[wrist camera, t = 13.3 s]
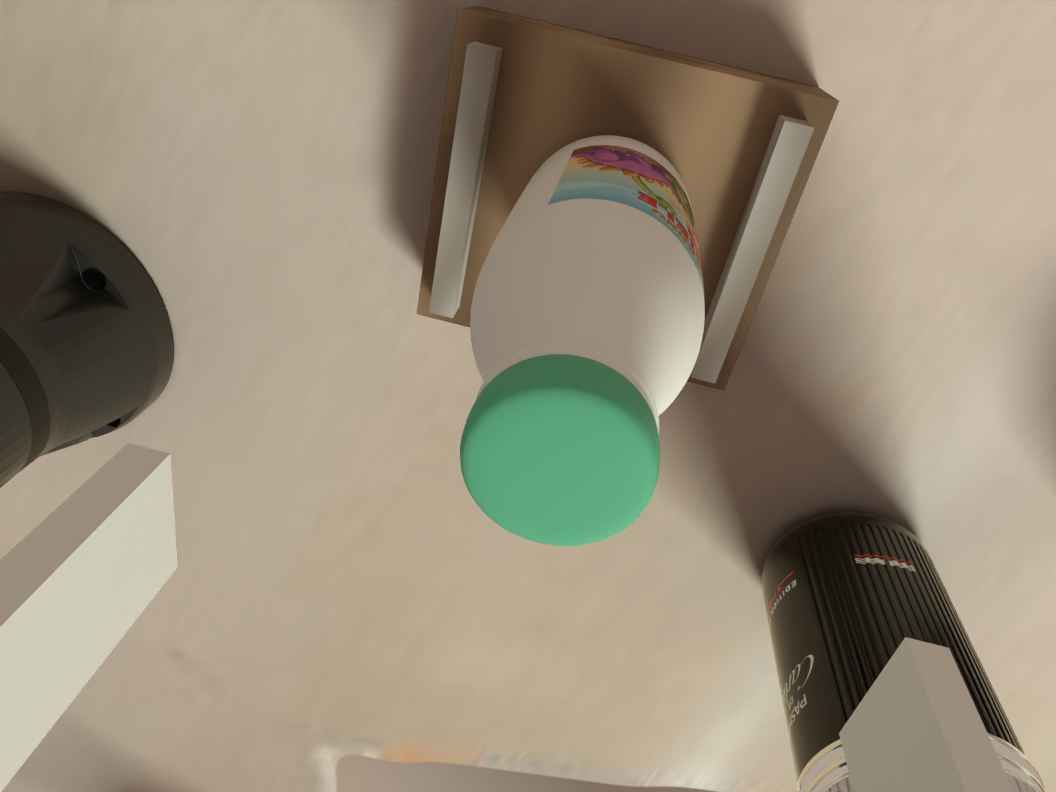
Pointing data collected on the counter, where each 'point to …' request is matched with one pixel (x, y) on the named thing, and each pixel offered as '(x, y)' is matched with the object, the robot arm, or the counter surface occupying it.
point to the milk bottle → (582, 342)
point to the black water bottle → (862, 637)
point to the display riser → (629, 111)
